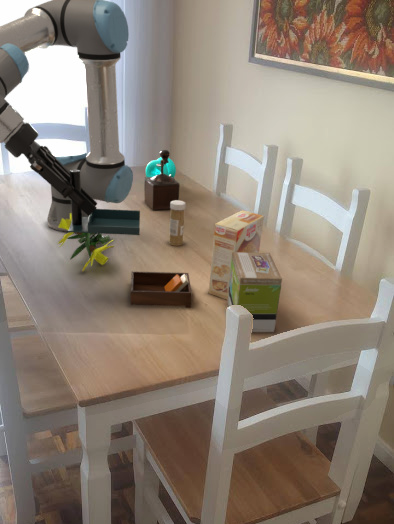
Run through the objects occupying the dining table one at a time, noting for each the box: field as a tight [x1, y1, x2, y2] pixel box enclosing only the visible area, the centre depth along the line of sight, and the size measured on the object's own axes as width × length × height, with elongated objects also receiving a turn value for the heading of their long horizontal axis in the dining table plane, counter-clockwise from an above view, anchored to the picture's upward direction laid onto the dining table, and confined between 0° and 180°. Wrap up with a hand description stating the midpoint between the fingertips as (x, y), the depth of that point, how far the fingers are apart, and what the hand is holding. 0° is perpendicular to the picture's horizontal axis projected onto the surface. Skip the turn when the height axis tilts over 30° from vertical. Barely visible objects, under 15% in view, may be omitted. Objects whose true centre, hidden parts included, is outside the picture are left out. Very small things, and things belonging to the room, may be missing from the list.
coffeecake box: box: [207, 209, 265, 301], centre depth 152 cm, size 15×7×20 cm, turn 148°
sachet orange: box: [164, 274, 183, 292], centre depth 150 cm, size 4×5×1 cm
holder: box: [130, 271, 193, 308], centre depth 149 cm, size 12×15×4 cm
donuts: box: [145, 156, 177, 179], centre depth 234 cm, size 10×10×10 cm
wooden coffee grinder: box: [143, 149, 180, 211], centre depth 210 cm, size 16×11×18 cm
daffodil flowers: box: [57, 213, 115, 273], centre depth 163 cm, size 17×15×35 cm
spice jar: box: [168, 199, 186, 247], centre depth 178 cm, size 5×5×14 cm
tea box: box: [227, 252, 283, 333], centre depth 139 cm, size 15×10×15 cm, turn 5°
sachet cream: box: [175, 274, 189, 292], centre depth 150 cm, size 4×5×1 cm
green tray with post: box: [69, 169, 141, 236], centre depth 135 cm, size 10×16×13 cm, turn 94°
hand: (92, 209), depth 136 cm, fingers closed on green tray with post, 2 cm apart
